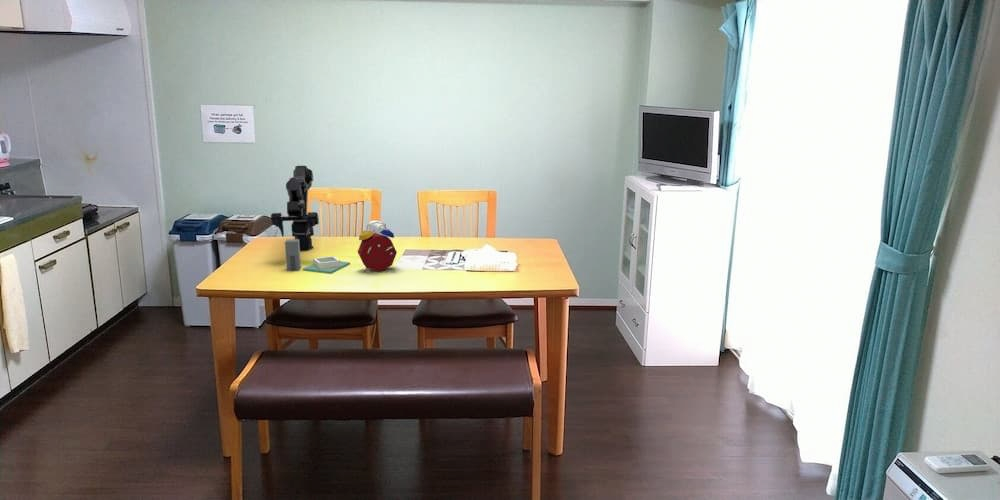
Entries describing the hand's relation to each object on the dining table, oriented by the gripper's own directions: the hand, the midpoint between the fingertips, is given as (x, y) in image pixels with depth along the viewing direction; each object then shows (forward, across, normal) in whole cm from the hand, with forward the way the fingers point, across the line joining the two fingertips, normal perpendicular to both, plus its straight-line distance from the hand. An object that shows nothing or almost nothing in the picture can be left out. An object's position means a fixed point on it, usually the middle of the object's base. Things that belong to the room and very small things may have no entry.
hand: (294, 235), depth 297 cm
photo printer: (-10, +33, +28) cm, 44 cm away
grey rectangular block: (+13, 0, +4) cm, 14 cm away
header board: (+12, +13, +5) cm, 19 cm away
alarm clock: (+18, +34, 0) cm, 38 cm away
